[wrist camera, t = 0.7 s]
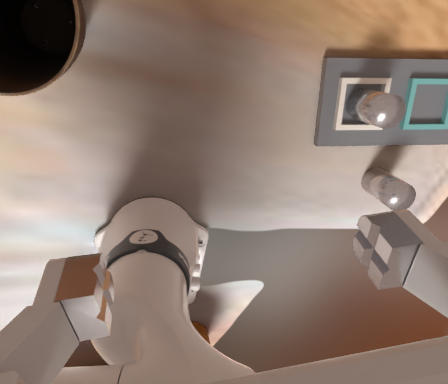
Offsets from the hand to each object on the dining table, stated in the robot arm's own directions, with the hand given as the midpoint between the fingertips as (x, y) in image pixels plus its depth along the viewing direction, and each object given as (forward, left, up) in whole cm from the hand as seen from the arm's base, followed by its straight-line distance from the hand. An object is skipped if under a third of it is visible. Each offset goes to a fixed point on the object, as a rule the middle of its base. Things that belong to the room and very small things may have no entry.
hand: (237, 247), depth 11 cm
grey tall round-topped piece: (-1, -25, -41) cm, 49 cm away
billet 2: (-14, -31, -43) cm, 55 cm away
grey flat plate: (-1, -31, -43) cm, 53 cm away
